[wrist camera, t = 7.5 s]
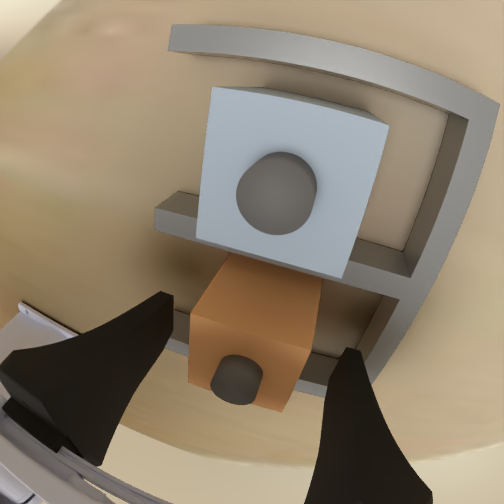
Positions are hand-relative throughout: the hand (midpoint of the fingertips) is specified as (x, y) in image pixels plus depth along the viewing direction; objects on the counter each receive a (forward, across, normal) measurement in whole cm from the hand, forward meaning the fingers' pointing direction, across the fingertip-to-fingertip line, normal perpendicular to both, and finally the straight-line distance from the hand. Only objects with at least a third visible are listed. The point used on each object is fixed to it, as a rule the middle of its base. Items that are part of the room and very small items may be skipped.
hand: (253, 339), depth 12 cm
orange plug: (+3, 0, 0) cm, 3 cm away
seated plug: (+3, 0, -7) cm, 8 cm away
